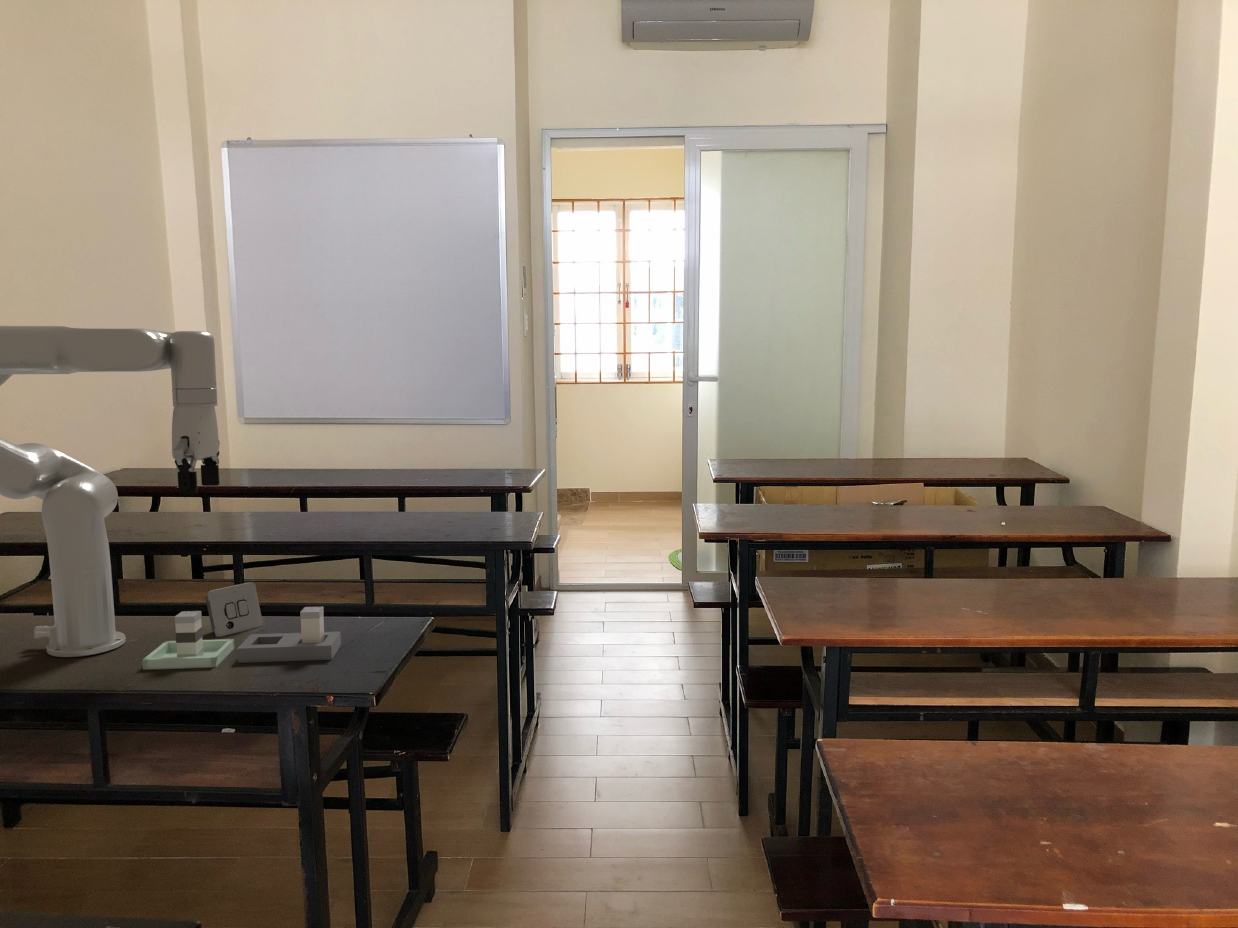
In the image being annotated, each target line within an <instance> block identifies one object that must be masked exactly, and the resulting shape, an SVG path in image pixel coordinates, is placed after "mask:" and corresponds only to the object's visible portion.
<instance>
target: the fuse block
mask: <svg viewBox="0 0 1238 928" xmlns="http://www.w3.org/2000/svg"><path fill="white" fill-rule="evenodd" d="M341 646H342V634H341V631H324V642H323V643H302V634H301V632H286V633H285V632H284V633H283V632H280V633H278V632H277V633H251V634H250V635H249V636H248V637H247V638H246V639H245V640H244V641H243V642H242V643H241V644H240V645H239V646H238V647H237V648H236V655H237V663H238V664H239V663H240V664H241V663H263V662H264V663H265V662H267V663H269V662H270V663H271V662H295V661H296V662H297V661H300V662H301V661H321V660H323V661H325V660H333V658H334V656H336V653H338V651H339V649H340V647H341Z"/></svg>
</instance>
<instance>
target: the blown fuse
mask: <svg viewBox="0 0 1238 928" xmlns="http://www.w3.org/2000/svg"><path fill="white" fill-rule="evenodd" d="M202 618H203V617H202V611H201V610H192V611H191V610H190V611H189V610H186V611H185V610H184V611H181V612H179V613H177V614H176V615H175V616H174V624H175V641H176V643H177V657H199V656H203V655H204V649H203V640H204V638H203V637H204V635H203V634H204V633H203V625H202V622H203V621H202Z"/></svg>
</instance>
